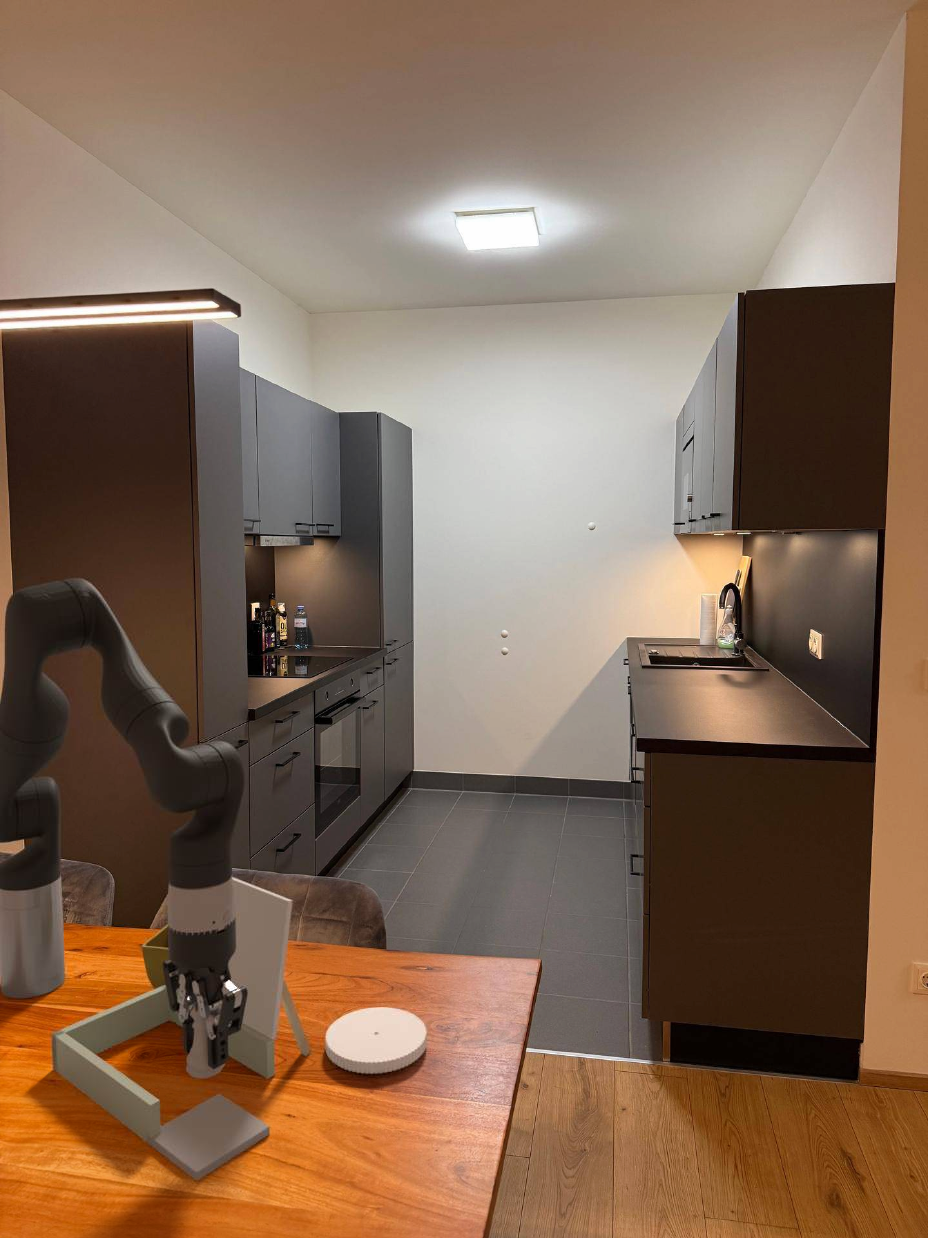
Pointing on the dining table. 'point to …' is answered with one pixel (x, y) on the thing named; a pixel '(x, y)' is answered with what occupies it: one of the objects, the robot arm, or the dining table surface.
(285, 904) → the lid propped
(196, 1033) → the rook chess piece
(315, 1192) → the dining table surface
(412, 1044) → the plastic lid
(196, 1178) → the slate tile
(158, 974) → the flower pot
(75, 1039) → the frame
